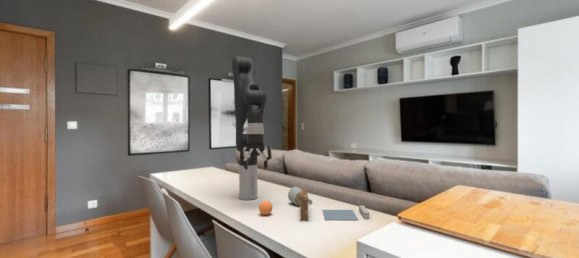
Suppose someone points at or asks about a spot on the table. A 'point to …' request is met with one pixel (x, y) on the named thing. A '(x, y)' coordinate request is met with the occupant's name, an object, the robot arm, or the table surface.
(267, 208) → the ball
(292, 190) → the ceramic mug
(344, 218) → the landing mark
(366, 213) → the stopper
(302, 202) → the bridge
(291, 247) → the table surface
